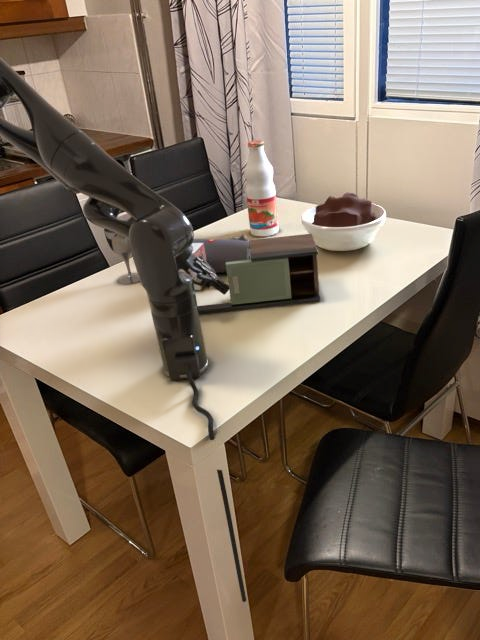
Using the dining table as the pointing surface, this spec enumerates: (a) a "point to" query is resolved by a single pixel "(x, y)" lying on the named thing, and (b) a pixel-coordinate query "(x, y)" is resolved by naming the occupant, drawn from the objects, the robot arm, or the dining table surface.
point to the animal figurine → (239, 238)
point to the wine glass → (121, 253)
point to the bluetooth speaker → (224, 252)
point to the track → (292, 300)
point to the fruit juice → (260, 192)
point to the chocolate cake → (343, 222)
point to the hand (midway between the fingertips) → (227, 290)
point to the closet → (293, 260)
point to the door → (258, 280)
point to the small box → (197, 251)
